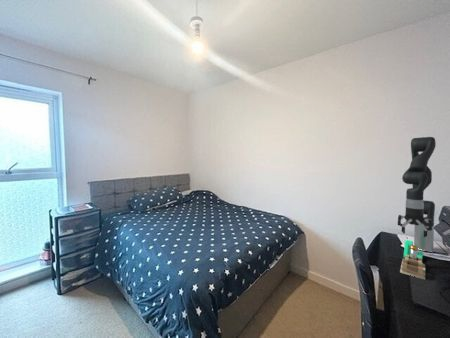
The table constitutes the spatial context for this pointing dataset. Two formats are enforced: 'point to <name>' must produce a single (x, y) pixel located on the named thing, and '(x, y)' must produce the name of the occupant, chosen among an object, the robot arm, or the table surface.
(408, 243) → the camera mount
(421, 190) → the robot arm
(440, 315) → the table surface
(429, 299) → the table surface
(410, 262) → the dock board
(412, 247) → the lock pin
